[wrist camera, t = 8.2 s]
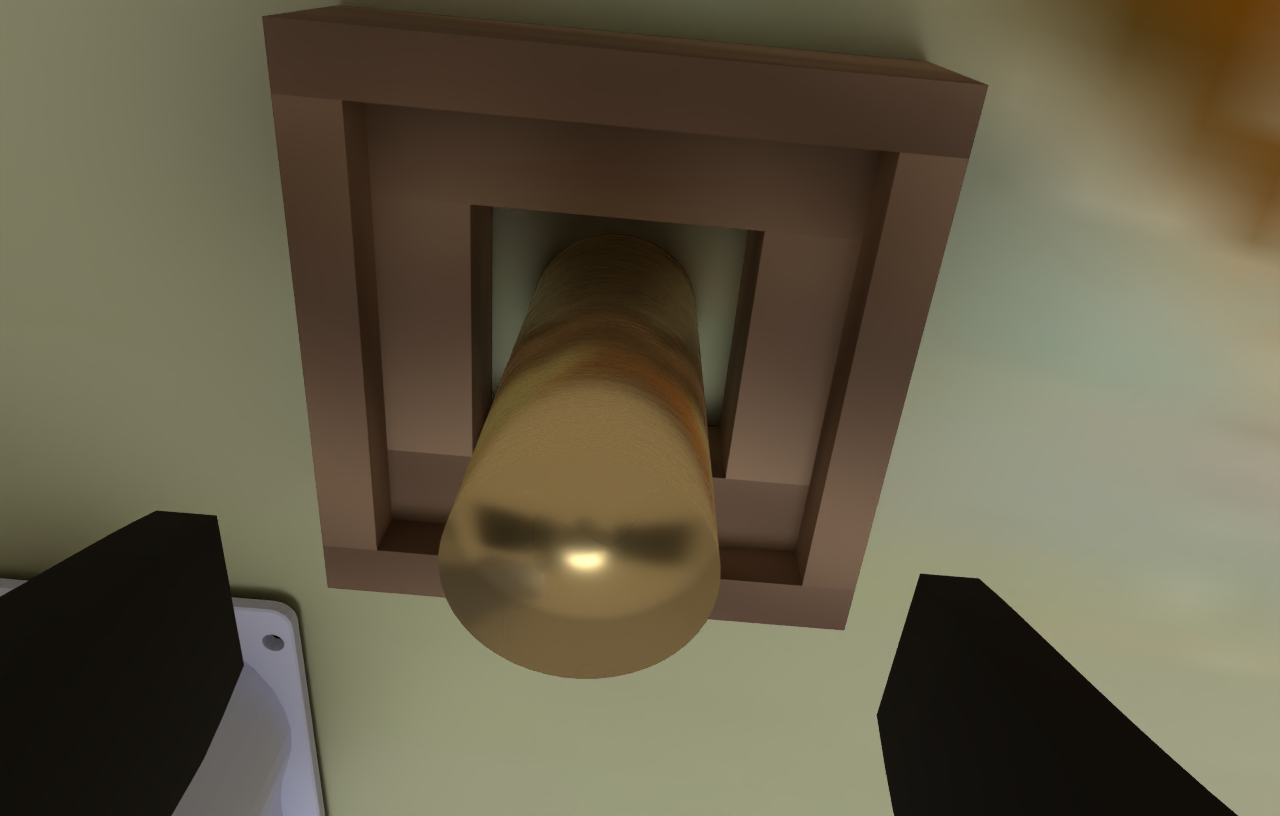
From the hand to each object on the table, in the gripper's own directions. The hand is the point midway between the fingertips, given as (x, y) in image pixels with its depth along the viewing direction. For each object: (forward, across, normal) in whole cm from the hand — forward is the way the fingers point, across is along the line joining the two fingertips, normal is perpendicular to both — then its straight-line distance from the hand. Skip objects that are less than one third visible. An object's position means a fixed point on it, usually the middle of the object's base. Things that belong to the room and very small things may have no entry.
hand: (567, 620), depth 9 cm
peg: (+9, 0, 0) cm, 9 cm away
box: (+9, 0, 0) cm, 9 cm away
